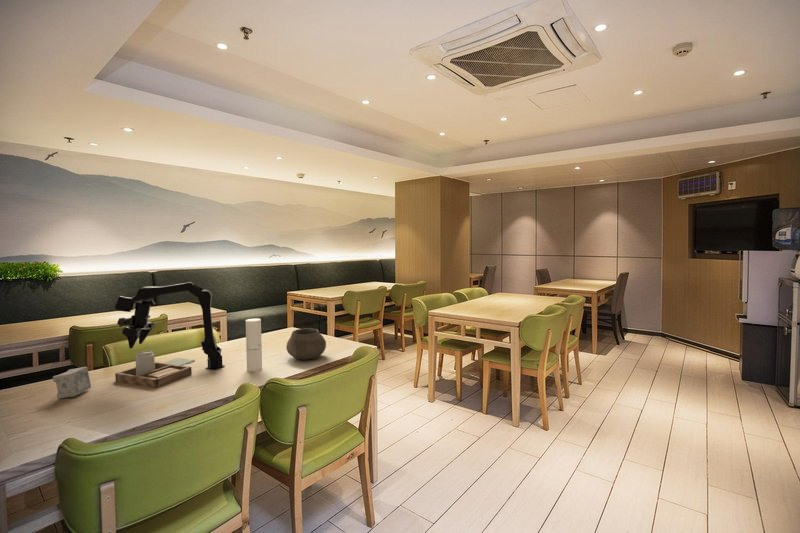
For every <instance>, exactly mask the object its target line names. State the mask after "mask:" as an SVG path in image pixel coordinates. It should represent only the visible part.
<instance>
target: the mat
mask: <svg viewBox="0 0 800 533" xmlns="http://www.w3.org/2000/svg"><path fill="white" fill-rule="evenodd" d="M193 362H195V359H190V358H189V359H188V358H181V357H177V358H174V359H173V358H172V359H169V360H167V361H164V362H163V363H167V364H174V365H182V366H185V365H188V364H191V363H193Z"/></svg>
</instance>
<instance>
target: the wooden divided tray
mask: <svg viewBox="0 0 800 533" xmlns="http://www.w3.org/2000/svg"><path fill="white" fill-rule="evenodd" d="M168 368H174V369H179V371H176V372H173V373H171V374H168V375H165V376H162V377H160V378H157V379H155V378H149V377H148V375H149V374H152V373H155V372H158V371H161V370H165V369H168ZM114 374H115V382H116V383H123V384H127V385H135V386H140V387H144V388H145V387H147V388H151V389H158V388H161V387H164V386H166V385H169V384H170V383H174V382H177V381H178V380H181V379H184V378H186V377H189V376H191V375H192V366H187V365H174V364H167V363H164V362H159V361H155V370H153V371H150V372H147V373H144V374H142V375H139V376H136V366H134V367H132V368H129V369H125V370H121V371H119V372H116V373H114Z"/></svg>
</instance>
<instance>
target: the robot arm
mask: <svg viewBox="0 0 800 533" xmlns="http://www.w3.org/2000/svg"><path fill="white" fill-rule="evenodd" d="M186 291H188V292H189V293H190V294H192V295H194V297H195V298H197V299H198V302H199V305H200V308H201V312H202V320H203V332H204V338H202V339H201V347H202V348H201V351H203V353H204V354H205V355H207V360H206V361H207V366H206V367H205V369H206V370H211V371H217V370H219V369H223V368H225V365H224V364H223V355H222V354H221V353H222V348H220V347H219V346H218V343H217V341H216V337H215V336H214V330H213V328H214V327H213V320H212V319H213V318H212V309H211V308H212V298H213V293H212V291H211V290H209V289H204V288H202V287H201V286H199V285H197V284H195V283H194V282H193V281H188V282H184V283H183V282H181V283H177V284H172V285H171V284H169V285H162V286H153V285H152V286H143V287H141V288H139V289H138V291H137V292H136V295H134V296H133V297H127V296H124V295H123V296H122V295H119V296H118V299H117V301H116V303H115V306H114V311H115V312H116V311H117V312H125V313H131V312H132V311H134V314H132V315H131V316H130V317H126V318H125V317H120V318H118V320H117V322H116V324H117V325H118V326H119V327H118V328H122V327H124V328H122V330H121V334H122V335H123V336H125V337H126V338H127V343H128V347H129V349H134V346H135V344H136V343H137V341H138V344H140V345H142V344H143V343H144V341H145V340H146V338H147V337H148V336H149V334H151V332H152V331H153V329H155V323H154V322H152V321H148V320H149V318H151V315H150V309H151V306H155V305H156V302H155V300H154V299H153V298H155V297H158V296H161V295H167V294H173V293H181V292H186ZM149 299H151V300H149ZM125 326H126V327H125Z"/></svg>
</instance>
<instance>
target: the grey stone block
mask: <svg viewBox="0 0 800 533" xmlns="http://www.w3.org/2000/svg"><path fill="white" fill-rule="evenodd" d="M52 382H54V383H55V384H56V389H57V390H56V391H57V393H56V397H57V399H59V400H60V399H64V398H71V397H76V396H78V395H84V393H85V392H86V391H87V390H89V389H91V388H92V384H91V379H90V374H89V370H88V367H87V366H82V367H77V368H70V369H68V370H67V371H66V372H63V373H60V374H58V375H54V376H52Z"/></svg>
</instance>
